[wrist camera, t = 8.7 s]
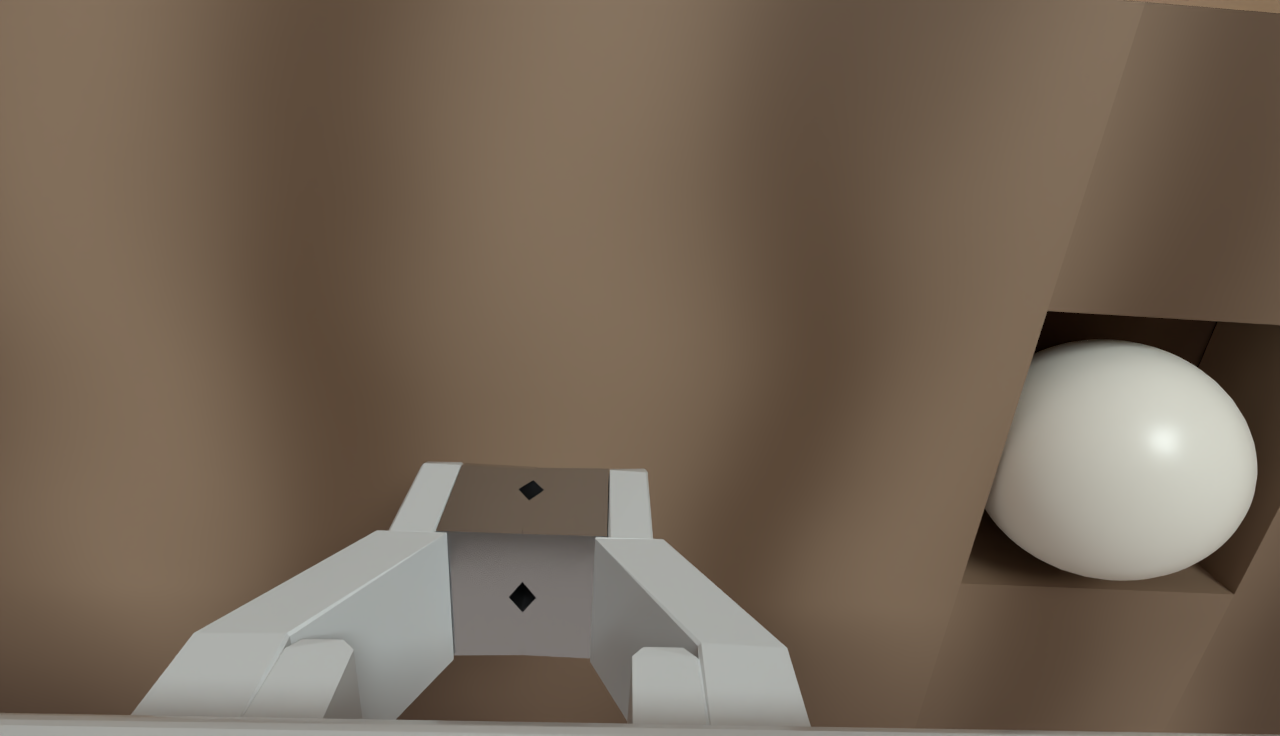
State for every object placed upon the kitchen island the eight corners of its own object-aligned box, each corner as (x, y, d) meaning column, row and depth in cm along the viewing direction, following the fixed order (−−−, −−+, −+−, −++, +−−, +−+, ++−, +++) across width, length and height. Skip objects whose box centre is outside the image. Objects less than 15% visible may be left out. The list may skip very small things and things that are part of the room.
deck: (1652, 69, 11) (1917, 67, 9) (1299, 662, 16) (1410, 758, 14) (-292, -93, 10) (-573, -144, 7) (-16, 616, 15) (-133, 715, 13)
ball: (1151, 310, 13) (1387, 404, 9) (1083, 490, 14) (1263, 631, 11) (954, 304, 12) (1123, 401, 9) (906, 491, 14) (1032, 641, 10)
